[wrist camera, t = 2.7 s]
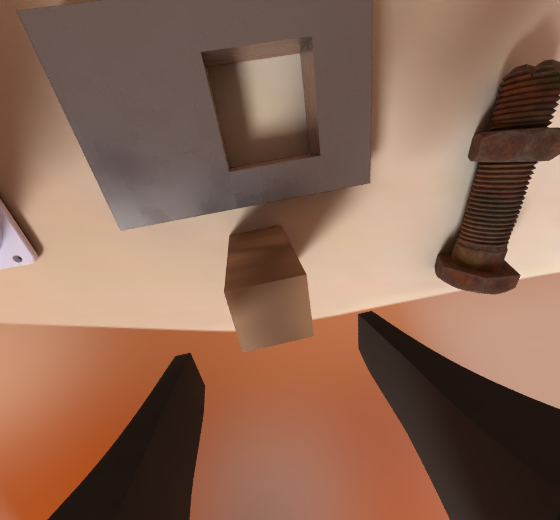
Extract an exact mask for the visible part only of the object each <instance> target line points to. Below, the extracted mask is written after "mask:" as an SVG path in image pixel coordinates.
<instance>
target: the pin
mask: <svg viewBox="0 0 560 520" xmlns="http://www.w3.org/2000/svg"><path fill="white" fill-rule="evenodd" d="M224 293H225V297H226V300H227V303H228V306H229V310H230V313H231V316H232V319H233V323H234V326H235V329H236V332H237V336H238V339H239V342H240V345H241V348H242V352H248V351H252V350H256V349H260V348H265V347H269V346H274V345H278V344H282V343H286V342H290V341H295V340H299V339H303V338H308V337H312V336H314V334H313V326H312V317H311V309H310V301H309V292H308V284H307V276H306V273H305V271H304V269H303V267H302V265H301V263H300V261H299V260H298V258H297V256H296V254H295V252H294V250H293V248H292V246H291V244H290V242H289V241H288V239H287V237H286V235H285V233H284V231H283V229H282V227H281V225H280V226H275V227H270V228H265V229H260V230H255V231H250V232H245V233H240V234H235V235H230V236H229V246H228V257H227V267H226V277H225V288H224Z"/></svg>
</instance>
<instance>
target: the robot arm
mask: <svg viewBox="0 0 560 520" xmlns="http://www.w3.org/2000/svg"><path fill="white" fill-rule="evenodd" d="M18 256H20V257H21V258H22V260H21V259H19V258H18ZM37 259H38V255H37V253H36V252H35V250H34V249H33V247H32V246H31V244H30V243H29V241H28V240H27V238H26V237H25V235H24V234H23V232H22V231H21V229H20V228H19V226H18V225H17V223H16V222H15V220H14V219H13V217H12V216H11V214H10V213H9V211H8V210H7V208H6V207H5V205H4V204H3V202H2V201H1V199H0V270H1V269H6V268H11V267H16V266H21V265H26V264H31V263H33V262H35V261H37ZM358 342H359V350H360V353H361V355H362V357H363V359H364V361H365V363H366V366H367V367H368V370H369V371H370V373H371V375H372V377H373V378H374V380H375V382H376V383H377V385H378V386H379V388H380V389H381V391H382V393H383V394H384V396H385V398H386V399H387V401H388V403H389V404H390V406H391V407H392V408H393V411H394V412H395V414H396V415H397V417H398V419H399V420H400V422H401V423H402V425H403V427H404V428H405V430H406V432H407V434H408V436H409V438H410V439H411V441H412V443H413V445H414V447H415V449H416V451H417V453H418V455H419V457H420V459H421V461H422V463H423V465H424V466H425V469H426V471H427V473H428V475H429V477H430V479H431V481H432V483H433V485H434V487H435V489H436V491H437V493H438V495H439V497H440V499H441V502H442V504H443V505H444V508H445V510H446V512H447V514H448V516H449V519H450V520H560V409H558V408H555V407H553V406H550V405H547V404H545V403H542V402H540V401H537V400H535V399H532V398H530V397H527V396H525V395H523V394H520V393H518V392H516V391H514V390H511V389H509V388H507V387H504V386H502V385H500V384H497V383H495V382H493V381H491V380H489V379H487V378H484V377H482V376H480V375H478V374H476V373H474V372H472V371H470V370H468V369H466V368H464V367H462V366H460V365H458V364H456V363H454V362H453V361H451V360H449V359H447V358H445V357H444V356H442V355H440V354H438V353H437V352H435V351H433V350H431V349H430V348H428V347H426V346H425V345H423V344H421V343H420V342H418V341H417V340H415V339H413V338H412V337H410V336H408V335H407V334H405V333H404V332H402V331H401V330H399V329H398V328H396V327H395V326H393V325H392V324H390V323H389V322H387V321H386V320H384V319H383V318H381V317H380V316H378V315H377V314H375V313H373V312H372V311H370V312H365V313H361V314H358ZM204 394H205V385H204V382H203V380H202V378H201V376H200V374H199V371H198V369H197V367H196V365H195V362H194V360H193V358H192V355H191V353H188V354H183V355H179V356H175V358H174V359H173V361H172V362H171V363H170V365H169V366H168V368H167V369H166V371H165V372H164V374H163V376H162V377H161V378H160V380H159V381H158V383H157V384H156V386H155V387H154V389H153V390H152V392H151V393H150V395H149V396H148V398H147V399H146V400H145V402H144V403H143V405H142V406H141V408H140V409H139V410H138V412H137V413H136V415H135V416H134V417H133V419H132V420H131V422H130V423H129V424H128V425H127V427H126V428H125V430H124V431H123V432H122V434H121V435H120V436H119V438H118V439H117V440H116V442H115V443H114V444H113V445H112V447H111V448H110V449H109V451H108V452H107V453H106V454H105V455H104V456H103V458H102V459H101V460H100V461H99V463H98V464H97V465H96V466H95V467H94V468H93V470H92V471H91V472H90V473H89V474H88V476H87V477H86V478H85V479H84V480H83V481H82V482H81V484H80V485H79V486H78V487H77V488H76V489H75V490H74V491H73V492H72V494H71V495H70V496H69V497H68V498H67V499H66V500H65V501H64V502H63V503H62V504H61V505H60V507H59V508H58V509H57V510H56V511H55V512H54V513H53V514H52V515H51V516H50V518H49V519H48V520H189V518H190V505H191V493H192V486H193V477H194V471H195V465H196V459H197V452H198V447H199V440H200V434H201V427H202V421H203V414H204V397H205V395H204Z"/></svg>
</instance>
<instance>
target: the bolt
mask: <svg viewBox="0 0 560 520" xmlns="http://www.w3.org/2000/svg"><path fill="white" fill-rule="evenodd" d="M502 80H503V81H504V82H503V83H502V84H501V85H500V87H502V88H501V89H499V90H498V91H499V92H500V93H501V94H499V95H498V96H497V98H498V99H499V100H497V101H496V102H495V103H496V104H497V106H495V107H494V109H495V110H496V111H495V112H494V113H492V114H493V115H494V117H493V118H491V120H492V121H493V122H492V123H490V124H489V125H490V126H491V128H490V129H488V131H489V132H481V133H478V134H476V135H475V136H474V137H473V139H472V143H471V146H470V150H469V154H468V158H469V160H470V161H476V162H481V164H479V165H478V166H479V167H480V168H479V169H477V171H478V172H479V173H477V174H475V175H476V176H477V178H475V179H474V180H475V181H476V182H474V183H473V185H475V186H474V187H472V189H473V191H471V194H472V195H471V196H469V198H471V199H470V200H468V202H469V203H470V204H468V205H467V207H469V208H467V209H466V211H467V212H466V213H465V217H463V219H464V221H462V223H463V224H462V225H461V227H462V228H461V229H460V231H461V232H460V233H459V235H460V236H458V239H457V240H456V242H455V245H454V249H453V252H452V253H450V254H440V255H437V259H436V263H435V273H436V275H437V277H438V278H440V279H441V280H442V281H444V282H446V283H447V284H449V285H451V286H453V287H455V288H458V289H461V290H466V291H471V292H476V293H484V294H500V293H503V292H507V291H509V290H511V289H513V288H515V287H516V285H517V282H518V280H519V278H520V274H519V273H518V272H517V271H515V270H514V269H513V268H512V267H511V266H510V265H509V264H508V263H507V262H506V261H505V260H504V258H505V255H506V253H507V244H508V243H509V242H508V240H509V239H510V235H511V231H513V227H514V226H515V225H514V223H516V219H517V218H518V215H517V214H519V213H520V211H519V209H521V208H522V207H521V206H520V205H521V204H523V202H522V201H521V200H524V198H525V197H524V196H523V195H525V194H526V193H527V192H525V191H524V190H527V189H528V187H527V186H526V185H528V184H529V182H528V180H530V179H531V177H530V176H529V175H531V174H534V173H533V172H532V171H531V170H533V169H535V168H536V167H534V166H533V165H535V164H536V163H538V162H537V161H549V160H551V159H553V158H554V157H556V156H558V155H559V154H560V128H549V127H547V126H548V125H550V124H551V123H552V122H550V121H549V120H550V119H552V118H553V117H554V116H552V115H551V114H553V113H554V112H555V111H556V110H555V109H553V108H555V107H556V106H557V105H559V104H558V103H556V101H558V100H559V99H560V96H558V95H559V94H560V62H559V61H556V60H545V61H543V62H542V63H540V64H538V65H537V66H536V67H534V66H531V65H527V64H526V65H522V66H519V67H516V68H515V69H513V70H512V71H511V72H510V73H509V74H508V75H506V76H505V77H504V78H503V79H502Z"/></svg>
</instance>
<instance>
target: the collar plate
mask: <svg viewBox="0 0 560 520" xmlns="http://www.w3.org/2000/svg"><path fill="white" fill-rule="evenodd" d="M17 13H18V15H19V17H20V20H21V22H22V24H23V26H24V28H25V30H26V32H27V34H28V36H29V39H30V41H31V43H32V45H33V47H34V49H35V51H36V53H37V55H38V58H39V60H40V62H41V64H42V66H43V68H44V70H45V72H46V75H47V77H48V79H49V81H50V83H51V85H52V87H53V89H54V91H55V94H56V96H57V98H58V100H59V102H60V104H61V106H62V108H63V110H64V113H65V115H66V117H67V119H68V121H69V123H70V125H71V127H72V129H73V132H74V134H75V136H76V138H77V140H78V142H79V144H80V146H81V148H82V151H83V153H84V155H85V157H86V159H87V161H88V163H89V165H90V168H91V170H92V172H93V174H94V176H95V178H96V180H97V182H98V184H99V187H100V189H101V191H102V193H103V195H104V197H105V199H106V201H107V203H108V206H109V208H110V210H111V212H112V214H113V216H114V218H115V220H116V222H117V225H118V227H119V229H120V231H122V230H127V229H132V228H138V227H143V226H148V225H153V224H159V223H164V222H169V221H174V220H179V219H185V218H190V217H195V216H200V215H206V214H211V213H216V212H221V211H227V210H232V209H237V208H242V207H248V206H253V205H258V204H263V203H269V202H274V201H279V200H284V199H290V198H295V197H300V196H305V195H310V194H316V193H321V192H326V191H331V190H337V189H342V188H347V187H352V186H358V185H363V184H368V183H370V159H371V77H372V0H100V1H92V2H84V3H76V4H68V5H60V6H52V7H43V8H35V9H27V10H19V11H17ZM297 53H301V64H302V75H303V86H304V97H305V108H306V119H307V130H308V141H309V152H310V154H308V155H302V156H297V157H291V158H285V159H280V160H274V161H269V162H263V163H257V164H252V165H246V166H241V167H235V168H230V166H229V161H228V157H227V153H226V148H225V144H224V140H223V135H222V131H221V127H220V122H219V118H218V114H217V109H216V105H215V101H214V96H213V92H212V88H211V83H210V79H209V75H208V70H207V67H209V66H215V65H222V64H229V63H236V62H243V61H249V60H256V59H263V58H270V57H277V56H283V55H290V54H297Z"/></svg>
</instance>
